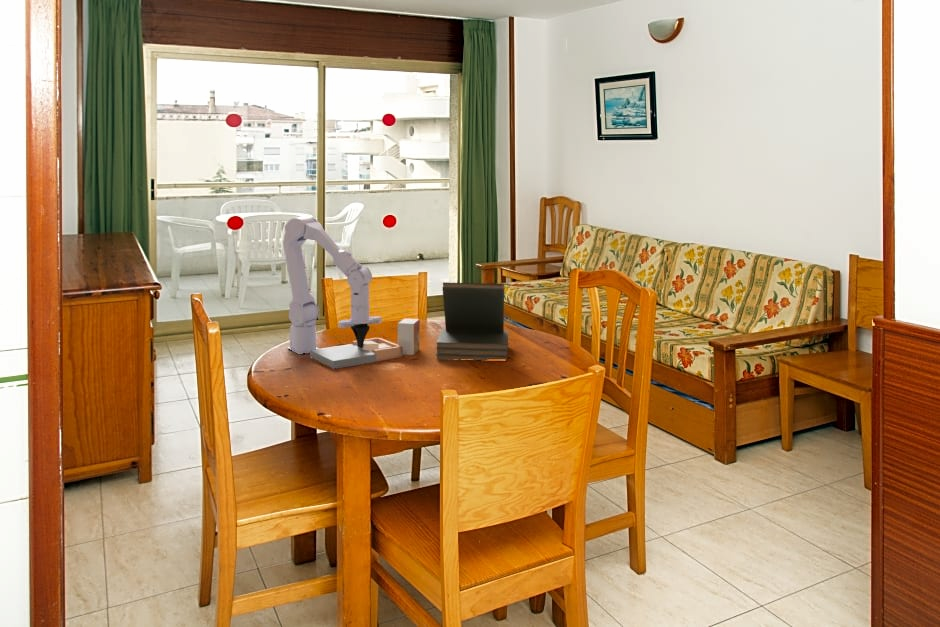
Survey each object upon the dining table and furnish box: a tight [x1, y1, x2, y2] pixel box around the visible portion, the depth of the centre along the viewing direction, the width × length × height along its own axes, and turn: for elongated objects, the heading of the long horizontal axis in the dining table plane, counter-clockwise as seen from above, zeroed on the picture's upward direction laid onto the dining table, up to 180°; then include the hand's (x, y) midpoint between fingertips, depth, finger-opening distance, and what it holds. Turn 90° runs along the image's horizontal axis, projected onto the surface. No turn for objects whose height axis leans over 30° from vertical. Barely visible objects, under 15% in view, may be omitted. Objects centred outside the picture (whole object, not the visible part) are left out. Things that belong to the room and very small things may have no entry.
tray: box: [352, 337, 404, 362], centre depth 260 cm, size 15×10×4 cm, turn 37°
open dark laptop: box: [435, 282, 510, 361], centre depth 261 cm, size 23×20×25 cm
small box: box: [397, 318, 421, 356], centre depth 263 cm, size 8×6×10 cm
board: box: [309, 343, 377, 370], centre depth 252 cm, size 16×15×2 cm
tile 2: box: [371, 343, 392, 352], centre depth 260 cm, size 5×5×2 cm
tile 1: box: [357, 341, 379, 350], centre depth 257 cm, size 5×5×2 cm
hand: (360, 347), depth 256 cm, fingers closed, pressing on tile 1
